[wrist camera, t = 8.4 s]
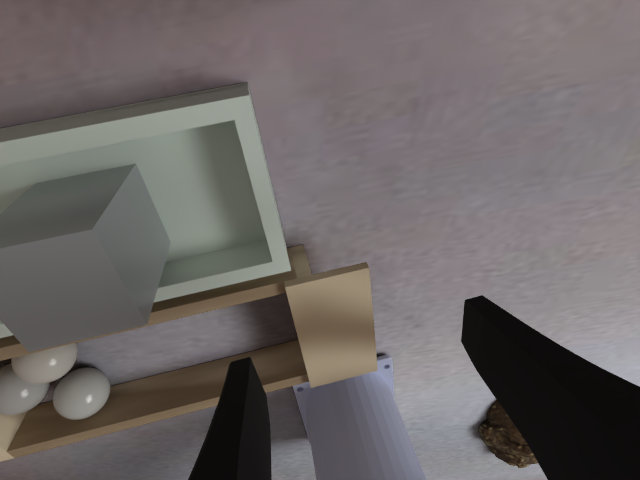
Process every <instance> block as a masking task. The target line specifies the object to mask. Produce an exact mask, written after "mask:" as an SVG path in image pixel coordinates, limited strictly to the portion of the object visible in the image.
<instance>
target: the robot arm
mask: <svg viewBox="0 0 640 480" xmlns="http://www.w3.org/2000/svg"><path fill="white" fill-rule="evenodd" d="M461 342H462V344H463V346H464V348H465V350H466V351H467V353H468V355H469V357H470V359H471V361H472V363H473V365H474V366H475V368H476V370H477V371H478V373H479V374H480V376H481V377H482V379H483V380H484V382H485V383H486V385H487V386H488V387H489V389H490V390H491V392H492V393H493V395H494V396H495V398H496V399H497V400H498V402H499V403H500V405H501V406H502V408H503V409H504V410H505V412H506V413H507V415H508V416H509V418H510V419H511V420H512V422H513V423H514V425H515V426H516V428H517V429H518V430H519V432H520V433H521V435H522V437H523V438H524V440H525V441H526V443H527V444H528V446H529V448H530V449H531V451H532V453H533V454H534V456H535V458H536V460H537V461H538V463H539V465H540V467H541V468H542V470H543V472H544V474H545V475H546V477H547V479H548V480H640V387H639V386H637V385H635V384H632V383H630V382H628V381H626V380H624V379H622V378H620V377H618V376H616V375H614V374H612V373H610V372H608V371H606V370H604V369H602V368H600V367H598V366H596V365H594V364H592V363H591V362H589V361H587V360H585V359H583V358H582V357H580V356H578V355H576V354H574V353H573V352H571V351H569V350H567V349H566V348H564V347H562V346H560V345H559V344H557V343H555V342H554V341H552V340H551V339H549V338H547V337H546V336H544V335H542V334H541V333H539V332H538V331H536V330H534V329H533V328H531V327H530V326H528V325H527V324H525V323H523V322H522V321H520V320H519V319H517V318H516V317H514V316H513V315H511V314H510V313H508V312H507V311H505V310H504V309H502V308H501V307H499V306H498V305H496V304H495V303H493V302H491V301H490V300H488V299H487V298H485V297H484V296H478V297H474V298H471V299H467V300H465V304H464V315H463V327H462V339H461ZM377 368H378V371H374V372H370V373H367V374H363V375H359V376H355V377H351V378H347V379H344V380H340V381H336V382H332V383H328V384H325V385H321V386H317V387H313V388H311V386H310V382H306V383H302V384H298V385H294V386H293V390H294V393H295V396H296V400H297V403H298V406H299V409H300V413H301V416H302V419H303V423H304V426H305V429H306V432H307V436H308V439H309V442H310V444H311V449H312V455H313V461H314V467H315V473H316V479H317V480H426V477H425V475H424V472H423V470H422V467H421V465H420V462H419V460H418V457H417V455H416V452H415V450H414V447H413V445H412V442H411V440H410V437H409V435H408V432H407V430H406V427H405V425H404V422H403V420H402V417H401V415H400V412H399V410H398V408H397V405H396V403H395V400H394V386H393V364H392V359H391V356H389V355H383V356H379V357H377ZM188 480H271V438H270V421H269V413H268V405H267V397H266V393H265V391H264V388H263V386H262V383H261V381H260V379H259V376H258V374H257V371H256V369H255V367H254V364H253V362H252V359H251V357H247V358H243V359H240V360H236V361H232V362H231V363H230V364H229V367H228V371H227V375H226V378H225V382H224V385H223V389H222V392H221V395H220V398H219V401H218V405H217V408H216V410H215V413H214V416H213V419H212V422H211V425H210V427H209V430H208V433H207V436H206V438H205V441H204V443H203V446H202V448H201V450H200V453H199V455H198V458H197V460H196V463H195V465H194V467H193V470H192V472H191V474H190V477H189V479H188Z"/></svg>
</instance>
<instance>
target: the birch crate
mask: <svg viewBox="0 0 640 480" xmlns="http://www.w3.org/2000/svg"><path fill="white" fill-rule="evenodd" d="M287 253H288V257H289V262H290V267H291V271H287V272H283V273H278V274H274V275H270V276H265V277H261V278H257V279H253V280H248V281H244V282H240V283H235V284H231V285H227V286H222V287H218V288H214V289H210V290H205V291H201V292H197V293H192V294H188V295H184V296H179V297H175V298H171V299H167V300H162V301H158V302H154V303H153V306H152V310H151V313H150V317H149V320H148V324H147V325H144V326H139V327H135V328H131V329H127V330H122V331H118V332H114V333H109V334H105V335H101V336H96V337H92V338H88V339H84V340H79V341H75V342H71V343H66V344H62V345H58V346H54V347H49V348H45V349H41V350H36V351H32V352H28V351H27V350H26V348H25V347H24V346H23V345H22V344H21V343H20V342H19V341H18V340H17V338H16V337H15V336H14V335H12V336H8V337H3V338H0V361H2V360H6V359H10V358H15V357H19V356H23V355H27V354H31V353H36V352H40V351H44V350H48V349H52V348H57V347H61V346H65V345H69V344H73V343H78V342H82V341H86V340H90V339H95V338H99V337H103V336H107V335H111V334H116V333H120V332H124V331H128V330H132V329H137V328H141V327H145V326H149V325H153V324H158V323H162V322H166V321H170V320H174V319H179V318H183V317H187V316H191V315H195V314H200V313H204V312H208V311H212V310H216V309H221V308H225V307H229V306H233V305H238V304H242V303H246V302H250V301H254V300H259V299H263V298H267V297H271V296H275V295H280V294H284V293H287V297H288V301H289V305H290V309H291V313H292V316H293V320H294V324H295V328H296V332H297V336H298V340H295V341H291V342H287V343H283V344H279V345H275V346H271V347H267V348H263V349H259V350H255V351H251V352H247V353H243V354H239V355H235V356H231V357H227V358H223V359H219V360H215V361H211V362H207V363H203V364H199V365H195V366H191V367H187V368H183V369H179V370H175V371H171V372H167V373H163V374H159V375H155V376H151V377H147V378H142V379H138V380H134V381H130V382H126V383H122V384H118V385H114V386H110V394H109V397H108V399H107V401H106V403H105V404H104V406H103V407H102V408H101V409H100V410H99V411H98V412H96V413H95V414H93V415H92V416H90V417H87V418H84V419H79V420H71V419H67V418H64V417H62V416H61V415H60V414H58V413H57V411H56V410H55V408H54V405H53V401H50V402H46V403H42V404H38V405H37V406H35V407H34V408H32V409H31V410H29V411H27V412H24V413H21V414H17V415H1V414H0V461H5V460H9V459H13V458H17V457H21V456H24V455H28V454H32V453H36V452H40V451H44V450H48V449H51V448H55V447H59V446H63V445H67V444H71V443H74V442H78V441H82V440H86V439H90V438H94V437H98V436H101V435H105V434H109V433H113V432H117V431H121V430H125V429H128V428H132V427H136V426H140V425H144V424H148V423H152V422H155V421H159V420H163V419H167V418H171V417H175V416H179V415H182V414H186V413H190V412H194V411H198V410H202V409H205V408H209V407H213V406H217V405H218V401H219V398H220V395H221V392H222V389H223V385H224V382H225V378H226V375H227V371H228V367H229V364H230V363H231V362H232V361H236V360H240V359H243V358H247V357H251V359H252V362H253V364H254V367H255V369H256V371H257V374H258V376H259V379H260V381H261V383H262V386H263V388H264V391H265V393H267V392H271V391H275V390H279V389H283V388H286V387H290V386H294V385H298V384H302V383H306V382H310V386H311V388H313V387H317V386H321V385H325V384H328V383H332V382H336V381H340V380H344V379H347V378H351V377H355V376H359V375H363V374H367V373H370V372H374V371H378V368H377V356H376V344H375V332H374V320H373V308H372V296H371V284H370V272H369V266H368V264H367V262H365V263H361V264H356V265H352V266H348V267H344V268H339V269H335V270H331V271H327V272H322V273H318V274H314V275H312V274H311V270H310V267H309V263H308V260H307V256H306V253H305V249H304V245H299V246H294V247H290V248H287Z"/></svg>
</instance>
